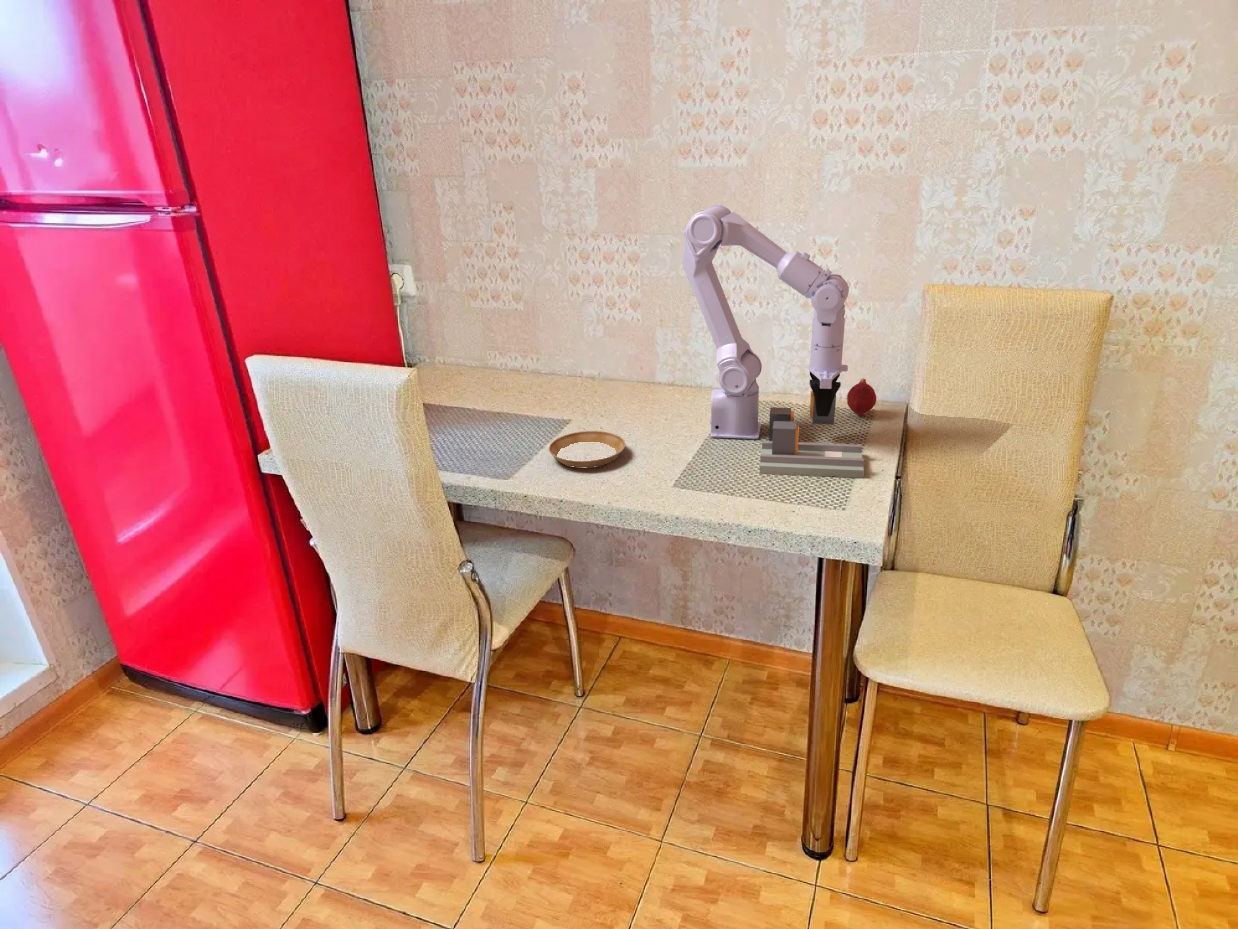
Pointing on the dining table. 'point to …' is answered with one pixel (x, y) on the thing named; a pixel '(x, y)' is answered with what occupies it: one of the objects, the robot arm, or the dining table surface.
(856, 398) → the onion
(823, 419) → the brushed grey cube
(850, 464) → the rail
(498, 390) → the dining table surface
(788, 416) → the block
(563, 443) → the plant saucer
